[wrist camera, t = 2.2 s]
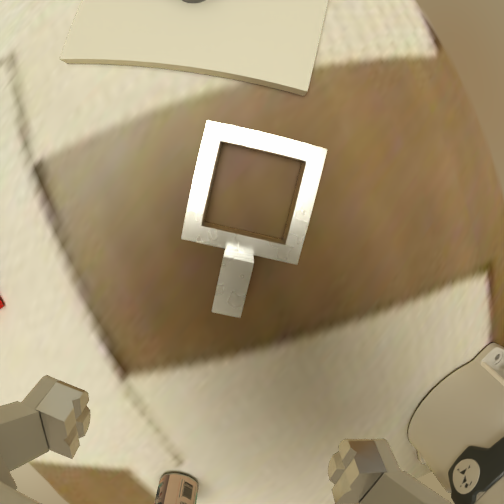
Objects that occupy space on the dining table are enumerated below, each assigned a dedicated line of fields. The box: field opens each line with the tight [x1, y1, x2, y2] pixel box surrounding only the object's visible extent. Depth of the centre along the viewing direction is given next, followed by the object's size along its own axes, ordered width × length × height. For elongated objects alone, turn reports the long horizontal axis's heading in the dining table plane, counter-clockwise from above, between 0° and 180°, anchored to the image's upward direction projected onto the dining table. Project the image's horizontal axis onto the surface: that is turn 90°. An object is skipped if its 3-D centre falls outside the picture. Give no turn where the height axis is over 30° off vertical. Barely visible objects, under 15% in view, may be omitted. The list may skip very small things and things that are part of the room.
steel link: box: [181, 120, 327, 318], centre depth 22 cm, size 12×8×4 cm
